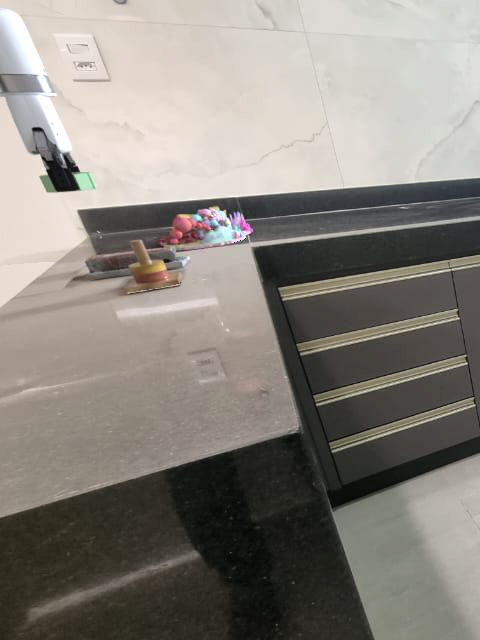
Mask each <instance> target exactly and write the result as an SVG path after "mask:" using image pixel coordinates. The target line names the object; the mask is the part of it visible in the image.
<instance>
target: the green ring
mask: <svg viewBox="0 0 480 640" xmlns="http://www.w3.org/2000/svg"><path fill="white" fill-rule="evenodd" d="M72 174H73V176H74V178H75V181H76V183H77V185H78V187H79V190H77V191H76V192H81V191H90V190H96V189H98V185H97V183H96V181H95V178H94V177H93V175H92V174H93V173H92V172H90V171H80V172H75V173H72ZM38 177H39V179H40V182H41V183H42V185H43V187H44V190H45V192H46V193H47V194H48V193H50V194H51V193H56V194H59V192H57V191H56V190H55V188H54V186H53V184H52V182H51V180H50V178H49V176H48V174H42V175H39V176H38ZM70 192H73V191H65V192H64V193H70Z"/></svg>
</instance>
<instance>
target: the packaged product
mask: <svg viewBox="0 0 480 640" xmlns="http://www.w3.org/2000/svg"><path fill="white" fill-rule="evenodd" d="M146 250H147V253H148V255H149V257H150V259H151V260H163V262H164V264H165V266H166V269H167V270H177V269H181V268H184V267H185V266H186V265H187V263H188V262H189V261H190V260H191V257H190V255H189V254H188V255H183V256H177V251H176V248H175V247H166V248H164V247H156V248H148V249H147V248H146ZM138 262H139V261H138V259H137V257H136V255H135V253H134V250H130V251H121V252H113V253H112V252H111V253H104V254H103V253H102V254H95V255H91V256H90V257H88V258H87V259H86V260H84V263H85V266H86V268H87V269H88V271H89V272H88V273H87V274H86V275H87V279H88V280H89V281H95V280H96V279H97V280H103V278H105V279H111V278H110V277H112V278H119V276H120V277H127V276H133V275H132V273H131V271H130V269H129V267H128V266H129V265H131V264H134V263H138Z"/></svg>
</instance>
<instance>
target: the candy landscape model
mask: <svg viewBox="0 0 480 640" xmlns="http://www.w3.org/2000/svg"><path fill="white" fill-rule="evenodd" d="M227 216H228V215H227V210H226V209H224V210H220V207H219V206H218V205H215V206H210V207H208V208H202V209H198V210H197V213H196V214H189V213H187V214H186V213H185V214H184V213H181V214H176V215H175V217H174V218H173V220H172V223H171V224H172V226H171V227H170V231H169V235H163V236H162V237H160V238H158V239H157V241H156V242H155V243H156V244H157V245H160V246H161V247H163V248H166V247H175V248H176V252H178V251H189V250H201V249H207V248H214V247H220V246H225V245H230V244H231V245H232V244H234V242H235V243H238V242H241V241H244V239H245V238H246V239H247V236H248V235H250V234H252V233H254V230H253V228H251V225H250V224H249V223H248V222H246V221H245V218H244V215H243V213H240V211H237V212H235V211H233V215H232V214H229V217H227ZM233 216H234V217H233ZM246 239H245V240H246ZM240 240H241V241H240ZM237 241H238V242H237Z"/></svg>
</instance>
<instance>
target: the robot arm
mask: <svg viewBox="0 0 480 640" xmlns="http://www.w3.org/2000/svg"><path fill="white" fill-rule="evenodd" d="M3 97H4V98H5V102H6V105H7V107H8V111H9V112H10V113H9V114H10V115H11V118H12V119H13V123H14V124H15V127H16V129H17V131H18V134H19V136H20V138H21V140H22V143H23V145H24V148H25V149H26V152H27V153H29V154H30V155H33V156H38V155H40V158H41V161H42V164H43V166H44V169H45V172H46V175H48V176H49V178H50V180H51V182H52V184H53V186H54V188H55V190H56V191H57V192H58V193H66V192H65V191H72V192H78V191H77V190H79V187H78V185H77V183H76V181H75V178H74V176H73V174H72V173H75V172H81V170H80V168H79V166H78V165H77V163H76V161H75V159H74V158H73V156H72V154H71V152H72V151H73V146H72V143H71V141H70V138H69V136H68V134H67V131H66V129H65V127H64V125H63V122H62V121H61V118H60V116H59V114H58V112H57V109H56V107H55V106H54V104H53V101H52V100H51V98H54V97H55V98H56V97H58V95H57V93H56V91H55V88H54V86H53V84H52V82H51V79H50V78H49V76H48V73H47V71H46V69H45V67H44V64H43V62H42V59H41V57H40V55H39V53H38V51H37V49H36V46H35V44H34V42H33V40H32V38H31V35H30V33H29V31H28V28H27V26H26V24H25V22H24V20H23V18H22V17H21V16H20V15H19V13H17V12H15V11H13V10H12V9H9V8H6V7H0V98H3Z"/></svg>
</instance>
